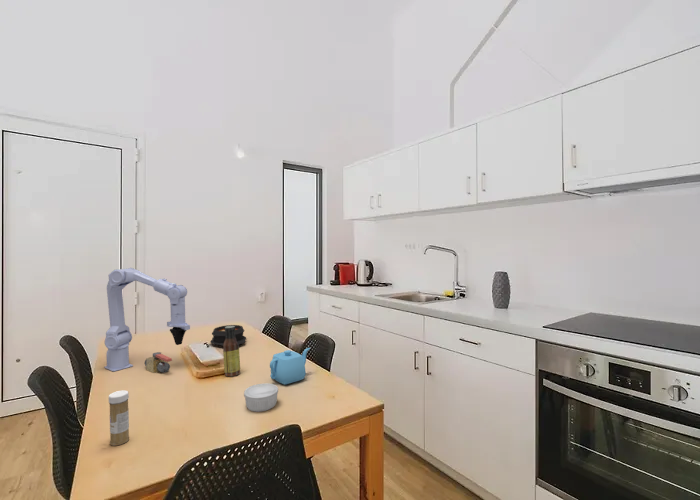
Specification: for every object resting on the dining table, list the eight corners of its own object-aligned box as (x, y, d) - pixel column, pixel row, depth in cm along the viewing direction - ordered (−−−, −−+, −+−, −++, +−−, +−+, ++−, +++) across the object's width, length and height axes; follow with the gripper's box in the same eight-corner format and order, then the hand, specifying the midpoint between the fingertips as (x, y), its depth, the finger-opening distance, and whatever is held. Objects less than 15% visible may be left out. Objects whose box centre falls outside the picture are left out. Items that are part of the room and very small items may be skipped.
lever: (159, 354, 154) (159, 351, 154) (173, 360, 145) (173, 357, 145) (151, 356, 151) (151, 353, 151) (165, 362, 143) (165, 359, 143)
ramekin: (260, 417, 108) (260, 400, 108) (236, 408, 114) (236, 392, 114) (285, 402, 118) (285, 387, 118) (262, 395, 124) (261, 380, 124)
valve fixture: (142, 368, 153) (141, 355, 153) (156, 364, 158) (155, 352, 158) (158, 374, 145) (157, 361, 145) (172, 370, 150) (172, 357, 150)
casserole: (253, 345, 186) (253, 329, 186) (217, 352, 175) (217, 335, 175) (238, 335, 206) (237, 321, 206) (204, 341, 195) (204, 326, 195)
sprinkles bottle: (107, 442, 96) (106, 393, 95) (126, 435, 99) (125, 388, 99) (113, 448, 93) (111, 398, 92) (132, 441, 96) (130, 392, 96)
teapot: (318, 377, 140) (318, 348, 139) (278, 390, 128) (277, 359, 128) (302, 369, 149) (301, 342, 149) (263, 380, 138) (262, 351, 138)
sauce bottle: (243, 372, 146) (242, 325, 146) (233, 378, 140) (232, 328, 140) (230, 370, 148) (229, 324, 148) (220, 376, 142) (219, 327, 142)
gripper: (159, 313, 154) (160, 344, 154) (178, 316, 146) (179, 349, 146) (175, 310, 160) (176, 340, 160) (194, 313, 152) (194, 344, 152)
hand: (178, 344), depth 153 cm, fingers closed
